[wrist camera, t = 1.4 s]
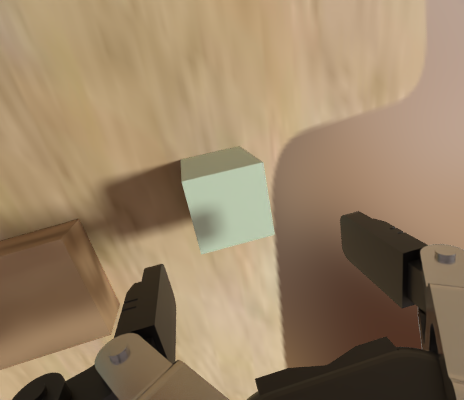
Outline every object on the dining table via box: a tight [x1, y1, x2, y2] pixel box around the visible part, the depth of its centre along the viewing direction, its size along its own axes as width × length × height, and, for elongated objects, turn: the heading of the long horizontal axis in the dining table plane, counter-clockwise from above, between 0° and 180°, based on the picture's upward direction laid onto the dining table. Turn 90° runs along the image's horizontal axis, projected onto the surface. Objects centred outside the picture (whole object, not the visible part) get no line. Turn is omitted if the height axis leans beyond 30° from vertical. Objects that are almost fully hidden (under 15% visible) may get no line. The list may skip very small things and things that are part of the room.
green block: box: [181, 146, 275, 254], centre depth 21 cm, size 5×5×7 cm
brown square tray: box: [0, 219, 120, 370], centre depth 22 cm, size 9×9×4 cm
